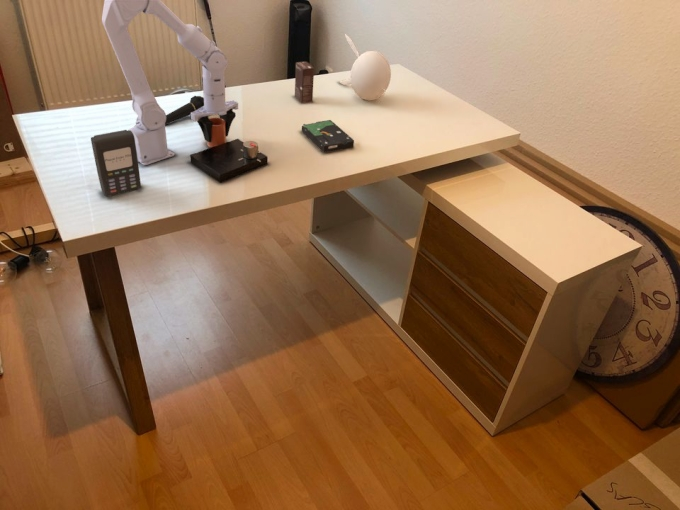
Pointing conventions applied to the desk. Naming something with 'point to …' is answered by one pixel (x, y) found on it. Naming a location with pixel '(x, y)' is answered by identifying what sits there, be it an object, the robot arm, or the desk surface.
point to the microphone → (185, 109)
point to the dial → (250, 149)
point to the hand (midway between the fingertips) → (216, 138)
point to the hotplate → (226, 161)
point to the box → (304, 82)
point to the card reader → (116, 162)
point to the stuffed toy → (368, 74)
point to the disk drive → (327, 136)
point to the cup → (217, 132)
